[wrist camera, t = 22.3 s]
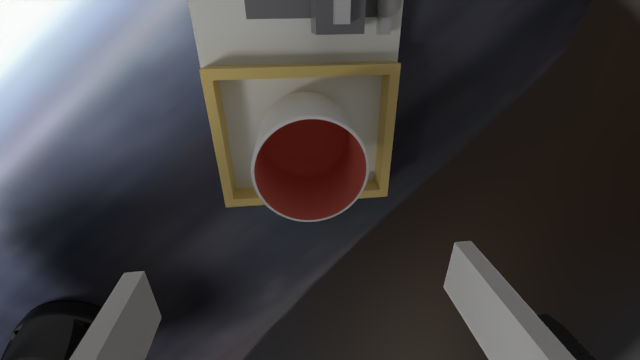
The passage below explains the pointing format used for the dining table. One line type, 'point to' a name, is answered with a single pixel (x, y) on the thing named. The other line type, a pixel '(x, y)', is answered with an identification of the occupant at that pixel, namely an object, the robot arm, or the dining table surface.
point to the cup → (308, 159)
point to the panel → (294, 79)
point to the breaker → (337, 17)
